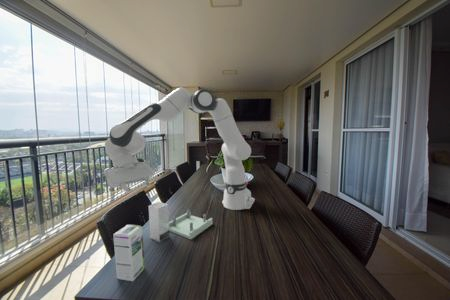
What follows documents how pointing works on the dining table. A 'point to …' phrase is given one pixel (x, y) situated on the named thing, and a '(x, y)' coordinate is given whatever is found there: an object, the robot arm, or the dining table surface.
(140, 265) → the syrup box
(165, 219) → the white carton
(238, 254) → the dining table surface
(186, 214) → the pin tray
